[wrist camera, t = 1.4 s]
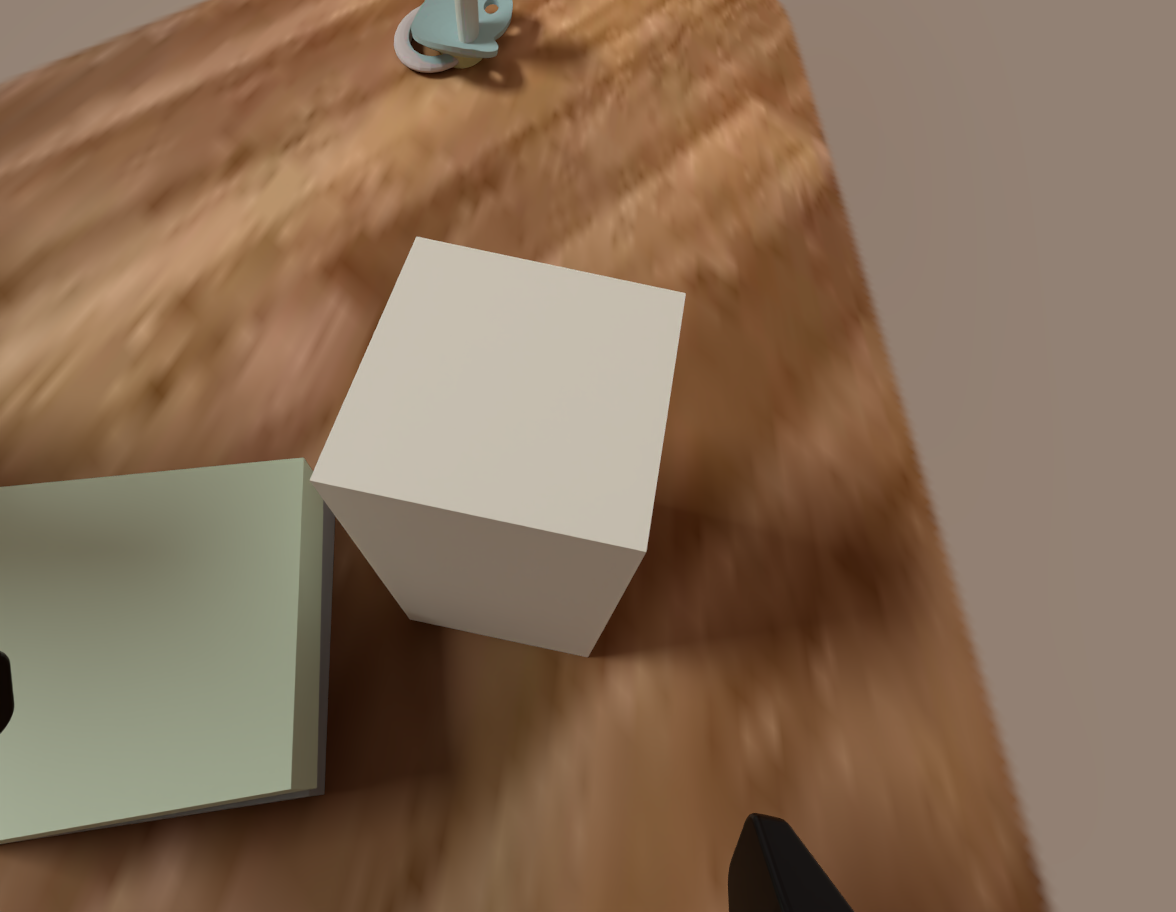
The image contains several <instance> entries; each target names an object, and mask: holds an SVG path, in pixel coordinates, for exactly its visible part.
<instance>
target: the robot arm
mask: <svg viewBox="0 0 1176 912" xmlns="http://www.w3.org/2000/svg"><path fill="white" fill-rule="evenodd" d="M13 712H14V694H13V684H12V674H11V664H10V660H9V658H8V656H7V655H6V654H5V653H3V652H2V651H0V734H1V733H2V731H3V730H4V729H5V728H6V726H7V725H8V723H9V722H10V720H11V717H12V715H13ZM728 898H729V912H854V911H853V909H852V908H851V907H850V905H849V904H848V903H847V901H846V900H845V899H844V897H843V896H842V895H841V893H840V892H839V891H838V889H837V888H836V887H835V885H834V884H833V883H832V881H831V880H830V879H829V877H828V876H827V875H826V873H825V872H824V871H823V869H822V868H821V867H820V865H819V864H818V863H817V861H816V860H815V859H814V857H813V856H812V855H811V853H810V852H809V851H808V849H807V848H806V847H805V845H804V844H803V843H802V841H801V840H800V838H799V837H798V836H797V834H796V833H795V832H794V830H793V829H792V828H791V826H790V825H789V824H788V823H787V822H786V821H785V820H783V819H781V818H777V817H772V816H768V815H763V814H758V813H752V814H750V815H749V816H748V817H747V819H746V821H745V823H744V826H743V829H742V832H741V834H740V837H739V840H738V843H737V845H736V848H735V851H734V854H733V857H732V859H731V863H730V867H729V874H728Z"/></svg>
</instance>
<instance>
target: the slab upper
mask: <svg viewBox="0 0 1176 912" xmlns="http://www.w3.org/2000/svg"><path fill="white" fill-rule="evenodd" d="M312 473H313V471H312V469H311V468H310V466H309V465H308V463H307V462H306V460H305V459H304V458H294V459H284V460H273V461H263V462H253V463H243V464H232V465H222V466H212V467H202V468H191V469H181V470H171V471H160V472H150V473H140V474H130V475H119V476H109V477H99V478H89V479H78V480H68V481H58V482H47V483H37V484H27V485H17V486H6V487H0V651H2V652H3V653H5V654H6V655H7V656H8V658H9V660H10V664H11V674H12V684H13V694H14V712H13V715H12V717H11V720H10V722H9V723H8V725H7V726H6V728H5V729H4V730H3V731H2V733H1V734H0V844H4V843H9V842H15V841H21V840H26V839H32V838H38V837H43V836H49V835H55V834H60V833H66V832H72V831H77V830H83V829H88V828H94V827H100V826H105V825H111V824H117V823H122V822H128V821H134V820H139V819H145V818H151V817H156V816H162V815H168V814H173V813H179V812H185V811H190V810H196V809H202V808H207V807H213V806H219V805H224V804H230V803H236V802H241V801H247V800H253V799H258V798H264V797H270V796H275V795H281V794H286V793H292V792H298V791H303V790H309V789H315V788H317V761H318V718H319V675H320V631H321V588H322V544H323V499H322V497H321V496H320V494H319V493H318V492H317V490H316V489H315V487H314V486H313V485H312V483H311V482H310V481H309V480H310V478H311V476H312Z"/></svg>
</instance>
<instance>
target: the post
mask: <svg viewBox="0 0 1176 912" xmlns="http://www.w3.org/2000/svg"><path fill="white" fill-rule="evenodd" d="M685 295H686V293H682V292H677V291H672V290H668V289H663V288H658V287H653V286H649V285H644V284H639V283H634V282H630V281H625V280H620V279H615V278H611V277H606V276H601V275H596V274H592V273H587V272H582V271H577V270H573V269H568V268H563V267H558V266H554V265H549V264H544V263H539V262H535V261H530V260H525V259H520V258H516V257H511V256H506V255H502V254H497V253H492V252H487V251H483V250H478V249H473V248H468V247H464V246H459V245H454V244H449V243H445V242H440V241H435V240H430V239H426V238H421V237H416V239H415V241H414V243H413V246H412V248H411V250H410V252H409V255H408V257H407V259H406V261H405V264H404V266H403V268H402V271H401V273H400V275H399V277H398V280H397V282H396V284H395V287H394V289H393V291H392V293H391V296H390V298H389V300H388V302H387V305H386V307H385V309H384V312H383V314H382V316H381V318H380V321H379V323H378V325H377V328H376V330H375V332H374V334H373V337H372V339H371V341H370V343H369V346H368V348H367V350H366V353H365V355H364V357H363V359H362V362H361V364H360V366H359V369H358V371H357V373H356V375H355V378H354V380H353V382H352V385H351V387H350V389H349V391H348V394H347V396H346V398H345V400H344V403H343V405H342V407H341V410H340V412H339V414H338V416H337V419H336V421H335V423H334V426H333V428H332V430H331V432H330V435H329V437H328V439H327V441H326V444H325V446H324V448H323V451H322V453H321V455H320V457H319V460H318V462H317V464H316V467H315V469H314V471H313V473H312V476H311V478H310V480H309V481H310V482H311V483H312V485H313V486H314V487H315V489H316V490H317V492H318V493H319V494H320V496H321V497H322V499H323V500H324V501H325V503H326V504H327V506H328V507H329V508H330V510H331V511H332V512H333V514H334V515H335V517H336V518H337V519H338V521H339V522H340V524H341V525H342V526H343V528H344V529H345V530H346V532H347V533H348V535H349V536H350V537H351V539H352V540H353V542H354V543H355V544H356V546H357V547H358V548H359V550H360V551H361V553H362V554H363V555H364V557H365V558H366V560H367V561H368V562H369V564H370V565H371V566H372V568H373V569H374V571H375V572H376V573H377V575H378V576H379V578H380V579H381V580H382V582H383V583H384V585H385V586H386V587H387V589H388V590H389V591H390V593H391V594H392V596H393V597H394V598H395V600H396V601H397V603H398V604H399V605H400V607H401V608H402V609H403V611H404V612H405V614H406V615H407V616H408V618H409V619H410V620H415V621H419V622H424V623H429V624H433V625H438V626H443V627H447V628H452V629H457V630H462V631H466V632H471V633H476V634H480V635H485V636H490V637H494V638H499V639H504V640H508V641H513V642H518V643H523V644H527V645H532V646H537V647H541V648H546V649H551V650H555V651H560V652H565V653H570V654H574V655H579V656H584V657H589V655H590V653H591V651H592V649H593V648H594V646H595V644H596V642H597V640H598V638H599V637H600V635H601V633H602V631H603V629H604V628H605V626H606V624H607V622H608V620H609V619H610V617H611V615H612V613H613V611H614V610H615V608H616V606H617V604H618V602H619V601H620V599H621V597H622V595H623V593H624V591H625V590H626V588H627V586H628V584H629V582H630V581H631V579H632V577H633V575H634V573H635V572H636V570H637V568H638V566H639V564H640V563H641V561H642V559H643V557H644V555H645V554H646V551H647V545H648V538H649V531H650V525H651V518H652V512H653V505H654V499H655V492H656V486H657V479H658V472H659V466H660V459H661V453H662V446H663V440H664V433H665V426H666V420H667V413H668V407H669V400H670V394H671V387H672V381H673V374H674V367H675V361H676V354H677V348H678V341H679V335H680V328H681V322H682V315H683V308H684V302H685Z"/></svg>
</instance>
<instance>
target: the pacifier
mask: <svg viewBox="0 0 1176 912" xmlns="http://www.w3.org/2000/svg"><path fill="white" fill-rule="evenodd" d="M490 4H496V5H497V6H498V7H499V9H498V10H497V11H496V12H495V13H493V14H488V13H486V12H485V8H486V7H487V6H488V5H490ZM512 8H513V4H512V0H425V2H424V3H423V4H422V5H421V6H419V7H418V8H416V9H414V10H412V11H411V12H410V13H409V14H408V15H407V16H405V17H404V18H403V20H402V21H401V23H400V24H399V25H398V28H397V30H396V33H395V37H394V48H395V51H396V55H397V56H398V58H399V59H400V60H401V62H402V63H403V64H404V65H406V66H407V67H409V68H410V69H412V70H415V71H418V72H426V73H434V72H440V71H444V70H447V69H449V68H452V67H454V68H468V67H471V66H473V65H475V64H477V63H478V62H479V61H481V60H482V58H492V57H495V56H496V55H497V53H498V45H497V42H496V41H495V40H496V39H498V38H499V37H501V36H502V35H503V34H504V32H505V31H506V30H507V28H508V26H509V24H510V21H511V17H512ZM412 38H414V40H415V41H417V42H418V43H420V44H422V45H424V46H426V47H428V48H431V49H433V50H436V51H439V52H440V54H441V55H438V56H425V55H422V54H419V53H418V52H416V51H415V50H414V49H413V48H412V46H411V41H412Z"/></svg>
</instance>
